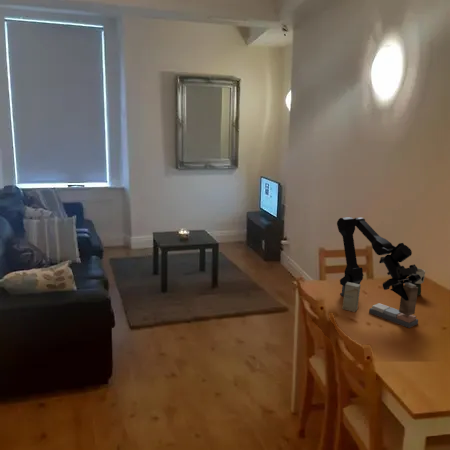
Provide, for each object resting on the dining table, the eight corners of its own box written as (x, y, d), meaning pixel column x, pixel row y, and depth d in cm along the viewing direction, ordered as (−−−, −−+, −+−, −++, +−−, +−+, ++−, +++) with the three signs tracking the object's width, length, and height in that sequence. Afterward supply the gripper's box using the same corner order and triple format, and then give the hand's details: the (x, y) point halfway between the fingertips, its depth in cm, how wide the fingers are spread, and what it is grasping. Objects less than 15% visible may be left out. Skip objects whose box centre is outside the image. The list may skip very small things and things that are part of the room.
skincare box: (341, 309, 222) (344, 284, 219) (344, 306, 226) (347, 281, 223) (355, 312, 219) (358, 286, 217) (357, 309, 223) (360, 284, 220)
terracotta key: (396, 319, 210) (397, 314, 210) (403, 316, 214) (404, 311, 213) (408, 323, 206) (409, 319, 205) (415, 320, 209) (416, 316, 209)
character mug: (421, 299, 240) (425, 274, 237) (406, 296, 243) (409, 271, 240) (421, 292, 250) (425, 268, 247) (407, 289, 253) (410, 265, 250)
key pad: (368, 312, 219) (369, 305, 219) (377, 309, 224) (378, 302, 223) (409, 328, 205) (410, 320, 204) (417, 324, 210) (418, 316, 209)
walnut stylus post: (398, 311, 210) (402, 283, 207) (405, 310, 212) (409, 282, 209) (407, 315, 206) (411, 287, 203) (414, 313, 209) (418, 285, 206)
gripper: (391, 260, 203) (409, 294, 196) (420, 256, 212) (438, 288, 205) (374, 273, 211) (391, 305, 204) (403, 268, 220) (420, 299, 214)
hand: (411, 299), depth 207 cm, fingers closed on walnut stylus post, 4 cm apart
